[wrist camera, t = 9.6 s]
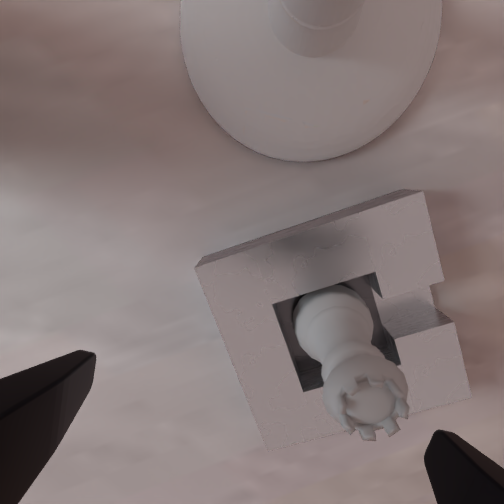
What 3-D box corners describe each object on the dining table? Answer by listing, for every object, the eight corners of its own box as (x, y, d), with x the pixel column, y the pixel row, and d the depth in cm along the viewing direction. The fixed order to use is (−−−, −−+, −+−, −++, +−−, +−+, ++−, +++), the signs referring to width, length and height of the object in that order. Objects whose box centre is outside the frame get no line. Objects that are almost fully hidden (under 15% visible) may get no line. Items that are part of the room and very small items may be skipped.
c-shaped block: (267, 422, 22) (267, 451, 19) (202, 257, 19) (194, 267, 17) (448, 372, 20) (472, 397, 18) (402, 189, 18) (423, 191, 16)
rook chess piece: (277, 305, 19) (287, 390, 11) (344, 267, 19) (403, 331, 11) (314, 363, 20) (347, 481, 12) (380, 329, 19) (458, 430, 12)
